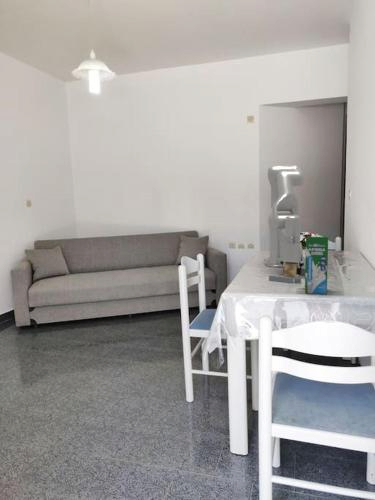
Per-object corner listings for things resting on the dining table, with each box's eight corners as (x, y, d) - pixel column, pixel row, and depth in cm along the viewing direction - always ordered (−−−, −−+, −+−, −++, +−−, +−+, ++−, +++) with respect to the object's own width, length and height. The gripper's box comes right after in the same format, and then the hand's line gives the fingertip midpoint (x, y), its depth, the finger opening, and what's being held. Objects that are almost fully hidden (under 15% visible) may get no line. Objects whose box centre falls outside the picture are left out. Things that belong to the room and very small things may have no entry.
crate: (283, 276, 198) (284, 263, 197) (288, 274, 203) (288, 261, 202) (295, 278, 194) (295, 264, 193) (300, 276, 199) (300, 262, 198)
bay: (268, 282, 190) (268, 272, 189) (284, 275, 206) (284, 266, 205) (298, 286, 181) (298, 275, 181) (312, 278, 197) (312, 268, 196)
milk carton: (326, 289, 174) (328, 234, 171) (326, 294, 166) (328, 236, 162) (305, 288, 177) (306, 234, 174) (304, 293, 169) (305, 236, 165)
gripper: (273, 240, 198) (273, 274, 200) (306, 241, 188) (305, 277, 190) (279, 238, 204) (279, 271, 206) (311, 240, 194) (311, 275, 196)
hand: (292, 274), depth 198 cm, fingers closed on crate, 6 cm apart
